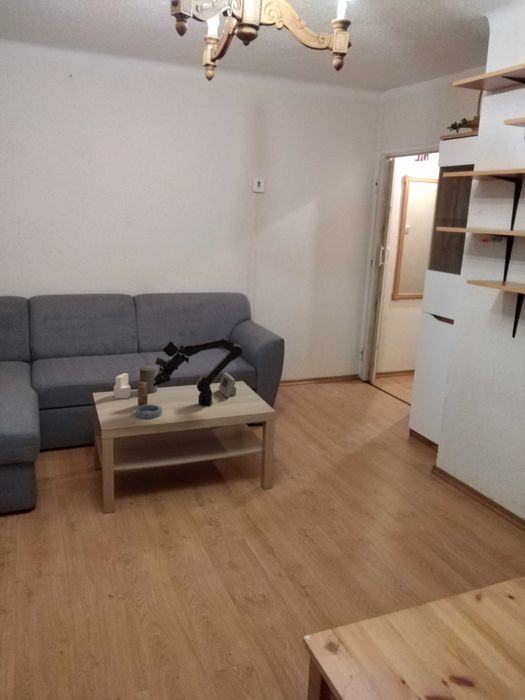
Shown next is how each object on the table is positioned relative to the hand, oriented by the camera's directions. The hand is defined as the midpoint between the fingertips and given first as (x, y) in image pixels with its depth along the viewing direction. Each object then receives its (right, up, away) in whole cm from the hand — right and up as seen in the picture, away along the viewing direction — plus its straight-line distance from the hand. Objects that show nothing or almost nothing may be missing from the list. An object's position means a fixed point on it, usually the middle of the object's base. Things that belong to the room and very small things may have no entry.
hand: (154, 382), depth 291 cm
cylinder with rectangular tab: (-21, -9, +16) cm, 28 cm away
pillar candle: (-8, -6, +26) cm, 28 cm away
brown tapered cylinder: (-6, -12, +2) cm, 14 cm away
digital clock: (+37, -8, +26) cm, 46 cm away
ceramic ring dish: (-1, -15, -10) cm, 18 cm away
